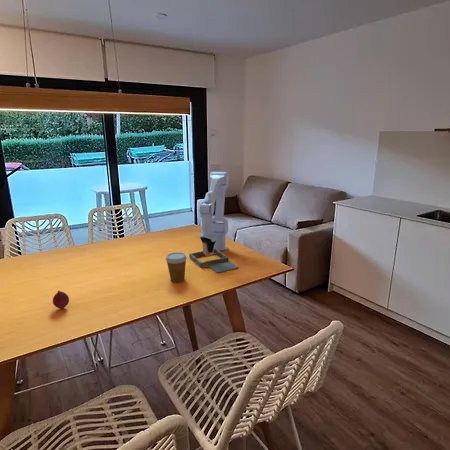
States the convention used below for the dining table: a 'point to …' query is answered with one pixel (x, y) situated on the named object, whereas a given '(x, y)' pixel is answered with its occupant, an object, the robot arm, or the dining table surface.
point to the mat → (223, 267)
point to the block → (206, 250)
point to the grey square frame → (207, 263)
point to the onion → (60, 299)
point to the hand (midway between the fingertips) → (208, 250)
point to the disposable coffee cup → (176, 266)
